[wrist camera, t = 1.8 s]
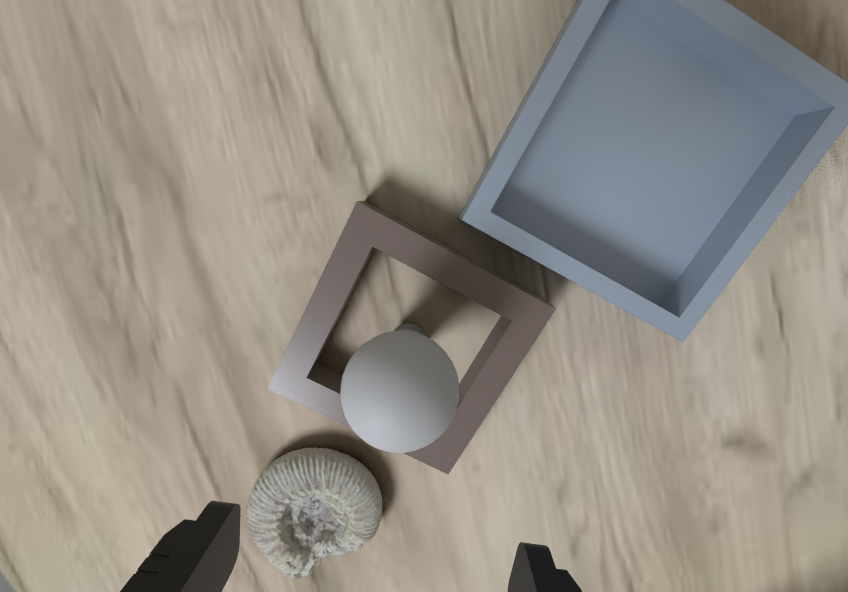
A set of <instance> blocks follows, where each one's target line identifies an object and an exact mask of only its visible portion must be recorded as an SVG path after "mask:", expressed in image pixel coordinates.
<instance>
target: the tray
mask: <svg viewBox="0 0 848 592" xmlns="http://www.w3.org/2000/svg"><path fill="white" fill-rule="evenodd" d="M847 125H848V83H847V82H846V81H844V80H843V79H841V78H840V77H838V76H837V75H835V74H834V73H832V72H831V71H830V70H828V69H827V68H825V67H824V66H822V65H821V64H819V63H818V62H816V61H815V60H813V59H812V58H810V57H809V56H807V55H806V54H804V53H803V52H801V51H800V50H798V49H797V48H795V47H794V46H792V45H791V44H789V43H788V42H786V41H785V40H783V39H782V38H780V37H779V36H777V35H776V34H774V33H773V32H771V31H770V30H768V29H767V28H765V27H764V26H762V25H761V24H759V23H758V22H756V21H755V20H753V19H752V18H750V17H749V16H747V15H746V14H745V13H743V12H742V11H740V10H739V9H737V8H736V7H734V6H733V5H731V4H730V3H728V2H727V1H725V0H577V2H576V4H575V6H574V8H573V10H572V11H571V13H570V15H569V17H568V19H567V21H566V22H565V24H564V26H563V28H562V30H561V31H560V33H559V35H558V37H557V39H556V41H555V42H554V44H553V46H552V48H551V50H550V52H549V53H548V55H547V57H546V59H545V61H544V62H543V64H542V66H541V68H540V70H539V72H538V73H537V75H536V77H535V79H534V81H533V83H532V84H531V86H530V88H529V90H528V92H527V93H526V95H525V97H524V99H523V101H522V103H521V104H520V106H519V108H518V110H517V112H516V114H515V115H514V117H513V119H512V121H511V123H510V124H509V126H508V128H507V130H506V132H505V134H504V135H503V137H502V139H501V141H500V143H499V145H498V146H497V148H496V150H495V152H494V154H493V155H492V157H491V159H490V161H489V163H488V165H487V166H486V168H485V170H484V172H483V174H482V176H481V177H480V179H479V181H478V183H477V185H476V186H475V188H474V190H473V192H472V194H471V196H470V197H469V199H468V201H467V203H466V205H465V207H464V208H463V210H462V212H461V214H460V216H459V217H458V218H460V219H461V220H463V221H464V222H466V223H468V224H470V225H472V226H473V227H475V228H477V229H479V230H481V231H482V232H484V233H486V234H488V235H490V236H492V237H493V238H495V239H497V240H499V241H501V242H502V243H504V244H506V245H508V246H510V247H511V248H513V249H515V250H517V251H519V252H520V253H522V254H524V255H526V256H528V257H530V258H531V259H533V260H535V261H537V262H539V263H540V264H542V265H544V266H546V267H548V268H549V269H551V270H553V271H555V272H557V273H558V274H560V275H562V276H564V277H566V278H568V279H569V280H571V281H573V282H575V283H577V284H578V285H580V286H582V287H584V288H586V289H587V290H589V291H591V292H593V293H595V294H596V295H598V296H600V297H602V298H604V299H606V300H607V301H609V302H611V303H613V304H615V305H616V306H618V307H620V308H622V309H624V310H625V311H627V312H629V313H631V314H633V315H634V316H636V317H638V318H640V319H642V320H644V321H645V322H647V323H649V324H651V325H653V326H654V327H656V328H658V329H660V330H662V331H663V332H665V333H667V334H669V335H671V336H672V337H674V338H676V339H678V340H680V341H682V342H684V341H685V339H686V338H687V337H688V335H689V334H690V333H691V331H692V330H693V329H694V327H695V326H696V325H697V323H698V322H699V321H700V319H701V318H702V317H703V316H704V314H705V313H706V312H707V310H708V309H709V308H710V306H711V305H712V304H713V302H714V301H715V300H716V298H717V297H718V296H719V294H720V293H721V292H722V290H723V289H724V288H725V286H726V285H727V284H728V282H729V281H730V280H731V278H732V277H733V276H734V274H735V273H736V272H737V270H738V269H739V268H740V266H741V265H742V264H743V262H744V261H745V260H746V259H747V257H748V256H749V255H750V253H751V252H752V251H753V249H754V248H755V247H756V245H757V244H758V243H759V241H760V240H761V239H762V237H763V236H764V235H765V233H766V232H767V231H768V229H769V228H770V227H771V225H772V224H773V223H774V221H775V220H776V219H777V217H778V216H779V215H780V213H781V212H782V211H783V209H784V208H785V207H786V205H787V204H788V203H789V201H790V200H791V199H792V198H793V196H794V195H795V194H796V192H797V191H798V190H799V188H800V187H801V186H802V184H803V183H804V182H805V180H806V179H807V178H808V176H809V175H810V174H811V172H812V171H813V170H814V168H815V167H816V166H817V164H818V163H819V162H820V160H821V159H822V158H823V156H824V155H825V154H826V152H827V151H828V150H829V148H830V147H831V146H832V144H833V143H834V142H835V141H836V139H837V138H838V137H839V135H840V134H841V133H842V131H843V130H844V129H845V127H846V126H847Z"/></svg>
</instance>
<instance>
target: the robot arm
mask: <svg viewBox="0 0 848 592" xmlns="http://www.w3.org/2000/svg"><path fill="white" fill-rule="evenodd" d="M239 541H240V505H239V504H233V503H226V502H218V501H211V502H210V503H209V504H208V505H207V506H206V507H205V509H204V510H203V511H202V513H201V514H200V516H199V517H198V518H197V520H196V521H193V520H183V521H182V522H181V523H179V524H178V525H177V526H175V527H174V528H173V529H171V530H170V531H169V532H167V533H166V534H165V535H164V536H163V537H162V539H161V540H160V541H159V542H158V544H157V545H156V546H155V548H154V549H153V550H152V551H151V553H150V555H149V557H147V558H146V559H145V560H144V562H143V563H142V564H141V565H140V567H139V568H138V569H137V572H136V574H133V576H132V577H131V578H130V580H129V581H128V582H127V583H126V585H125V586H124V587H123V589H122V590H121V591H120V592H222V590H223V588H224V586H225V584H226V582H227V580H228V578H229V576H230V574H231V572H232V570H233V568H234V565H235V562H236V559H237V556H238V551H239ZM508 592H582V591H581V589H580V587H579V586H578V585H577V583H576V582H575V581H574V579H573V578H572V577H571V575H570V574H569V573H568V571H567V570H561V569H556V567H555V564H554V561H553V558H552V555H551V552H550V550H549V548H548V547H547V546H545V545H537V544H530V543H522V542H521V543H520V544H519V545H518V548H517V552H516V556H515V560H514V564H513V568H512V572H511V576H510V579H509V584H508Z"/></svg>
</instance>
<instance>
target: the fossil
mask: <svg viewBox="0 0 848 592" xmlns="http://www.w3.org/2000/svg"><path fill="white" fill-rule="evenodd" d="M381 515H382V495H381V491H380V489H379V485H378V483H377V482H376V480H375V478H374V476H373V475H372V474H371V472H370V471H368V469H367V467H365V466H364V465H363V464H360V462H359V461H357V460H355V458H353V457H350V456H349V454H348V455H346V454H345V453H340V452H339V451H335V450H333V449H328V448H325V449H324V448H322V447H321V448H317V447H314V448H311V447H309V448H303V449H298V450H296V451H295V450H294V451H292V452H288V453H287V454H284V455H283V456H281V457H279V458H278V459H276V460H275V461H273V462H272V463H271V464H270V465H269V466H268V467H267V468H266V469H265V470H264V471H263V472H262V473H261V475H260V476H259V477H258V479H257V481H256V482H255V484H254V486H253V488H252V490H251V494H250V497H249V500H248V506H247V520H248V525H249V531H250V535H251V536H252V537H253V541H255V544H256V546H258V548H259V550H261V551H262V552H263V555H264V556H265V558H266V559H267V560H268V561H269V562H270V564H272V565H274V567H275V568H276V569H278V570H279V571H280V572H282V573H284V575H285V576H290V577H292V578H293V579H298V578H301V577H302V576H307V575H309V574H310V573H312V572H313V567H314V566H315V565H317V564H320V562H321V559H322V557H324V558H325V557H327V556H329V555H342V554H344V553H347V552H349V551H357V550H358V549H359V548H360V547H362V545H363V544H364V543H366V542H368V541H370V540H371V539H372V537H373V536H374V535H375V533H376V531H377V529H378V526H379V523H380V520H381Z"/></svg>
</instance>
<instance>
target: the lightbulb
mask: <svg viewBox="0 0 848 592" xmlns="http://www.w3.org/2000/svg"><path fill="white" fill-rule="evenodd" d="M340 393H341V404H342V407H343V411H344V414H345V418H346V420H347V421H348V423H349V425H350V427H351V428H352V429H353V431H354V432H355V433H356V434H357V435H358V436H359V437H360V438H361V439H363V440H364V441H365V442H366V443H368V444H369V445H371V446H373V447H375V448H377V449H380V450H383V451H387V452H393V453H405V452H411V451H415V450H418V449H421V448H423V447H425V446H427V445H429V444H431V443H432V442H434V441H435V440H436V439H438V438H439V437H440V436H441V435H442V434H443V433H444V431H445V430H446V429H447V427H448V426H449V425H450V423H451V421H452V419H453V417H454V415H455V413H456V409H457V405H458V401H459V381H458V376H457V372H456V369H455V367H454V365H453V362H452V361H451V359H450V358H449V357H448V355H447V354H446V352H445V351H444V350H443V349H442V348H441V347H440V346H439V345H438V344H437V343H436V342H434V341H433V340H431V339H429V338H428V337H426V336H425V334H424V332H423V331H422V330H421V329H420V328H419V327H418V326H416V325H413V324H403V325H400V326H398V327H397V328H396V329H395V330H394V331H392V332H387V333H383V334H381V335H378V336H376V337H374V338H372V339H371V340H369V341H368V342H366V343H365V344H363V345H362V346H361V347H360V348H359V349H358V350H357V351H356V352H355V353H354V354H353V356H352V357H351V359H350V360H349V362H348V364H347V366H346V368H345V371H344V373H343V376H342V382H341V391H340Z"/></svg>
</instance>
